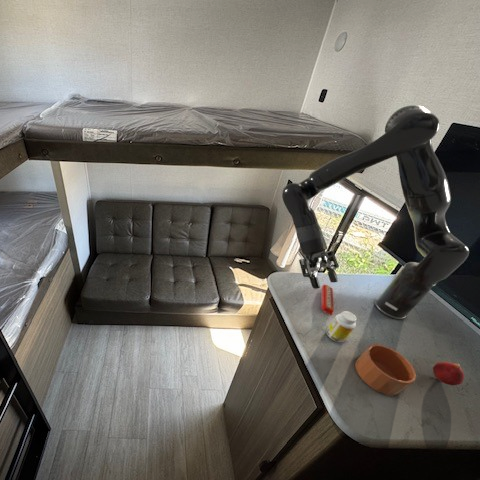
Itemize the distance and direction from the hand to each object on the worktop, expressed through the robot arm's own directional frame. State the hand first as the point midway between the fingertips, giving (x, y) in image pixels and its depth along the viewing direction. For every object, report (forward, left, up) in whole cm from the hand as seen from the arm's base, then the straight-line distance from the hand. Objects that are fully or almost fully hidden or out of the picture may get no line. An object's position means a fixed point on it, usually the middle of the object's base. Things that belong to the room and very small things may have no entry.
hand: (325, 285), depth 84 cm
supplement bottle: (0, +10, -14) cm, 18 cm away
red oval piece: (-16, +32, -14) cm, 39 cm away
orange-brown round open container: (0, +24, -14) cm, 28 cm away
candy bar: (-11, -2, -14) cm, 18 cm away
